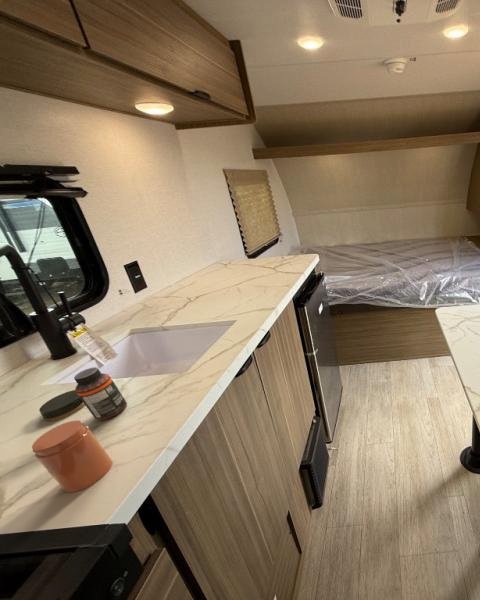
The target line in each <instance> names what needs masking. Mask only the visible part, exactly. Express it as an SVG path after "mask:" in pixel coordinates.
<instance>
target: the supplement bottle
mask: <svg viewBox="0 0 480 600" xmlns="http://www.w3.org/2000/svg"><path fill="white" fill-rule="evenodd" d="M73 379H74V381H75V383H76V386H75V389H74V390H75V391H76V393H77V394H78V395H79V397H80V398H81V400H82V401H83V402H84V404H85V407H86V409H87V410H88V411H89V412H90V414H91V415H92V417H93V418H94V419H95V420H96V421H105V420H110V419H112V418H114V417H116V416H118V415H119V414H120V413H122V412H123V411H124V410H125V409H126V407H127V405H128V403H127V401H126V399H125V397H124V396H123V394H122V393H121V392H120V389H119V388H118V387H117V385H116V383H115V382H114V380H113V379H112V377H111V376H110V375H109V374H108V373H102V372H101V371H100V369H99V368H98V367H93V366H92V367H89V368H86V369H84V370H82V371H80V372H78V373H77V374H75V375H74V378H73Z"/></svg>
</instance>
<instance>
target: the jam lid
mask: <svg viewBox="0 0 480 600" xmlns="http://www.w3.org/2000/svg"><path fill="white" fill-rule="evenodd" d="M82 403H83V401H82V400H81V398H80V397H79V395H78V394H77V393H76V391H75V389H73V390H68V391H65V392H63V393H60V394H58V395H56V396H54V397H52V398H50V399H49V400H47V401H46V402H45V403H43V404H42V405H41V406H40V408H39V409H38V411H39V413H40V415H41V416H42V418H43V417H44V418H53V417H57V416H60V415H63V414H65V413H67V412H70V411H71V410H73V409H75V408H76V407H78V406H79V405H81V404H82ZM44 418H43V419H44Z"/></svg>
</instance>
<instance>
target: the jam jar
mask: <svg viewBox="0 0 480 600" xmlns="http://www.w3.org/2000/svg"><path fill="white" fill-rule="evenodd" d="M31 448H32V452H33V453H34V457H35V458H36V459H37V460H38V461H39V463H40V464H41V465H42V466H43V467H44V468H45V469H46V471H47V472H48V473H49V474H50V475H51V476H52V478H53V479H54V480H55V482H57V484H58V485H59V486H60V487H61V488H62V490H63V491H64V492H66V493H76V492H79V491H82V490H85V489H86V488H88V487H90V486H92V485H94V484H95V483H97V482H98V481H99V480H100V479H102V478H103V477H104V476H105V475H106V474H107V473H108V472H109V471H110V469H111V468H112V466H113V459H112V458H111V457H110V455H109V454H108V452H107V451H106V449H105V448H104V447H103V445H102V444H101V443H100V441H99V440H98V439H97V437H96V435H94V433H93V432H92V430H91V429H90V427H89V426H88V425H84V423H83V422H82V421H81V420H77V419H76V420H70V421H67V422H63V423H61V424H59V425H57V426H55V427H53V428H51V429H49V430H47V431H45V432H44V433H43V434H41V435H40V436H38V438H36V440H35V441H34V442H33V444H32V445H31Z"/></svg>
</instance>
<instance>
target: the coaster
mask: <svg viewBox="0 0 480 600" xmlns="http://www.w3.org/2000/svg"><path fill="white" fill-rule="evenodd" d="M84 407H86V405H85V404H84V402H83V403H82V404H81V405H79V406H78V407H76V408H75V409H73V410H71V411H70V412H67V413H65V414H63V415H60V416H57V417H53V418H44V417H43V416H42V418H43V420H44V421H45V422H55V421H58V420H61V419H65V418H67V417H69V416H71V415H73V414H74V413H76V412H78V411H80V410H81V409H83V408H84Z"/></svg>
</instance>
